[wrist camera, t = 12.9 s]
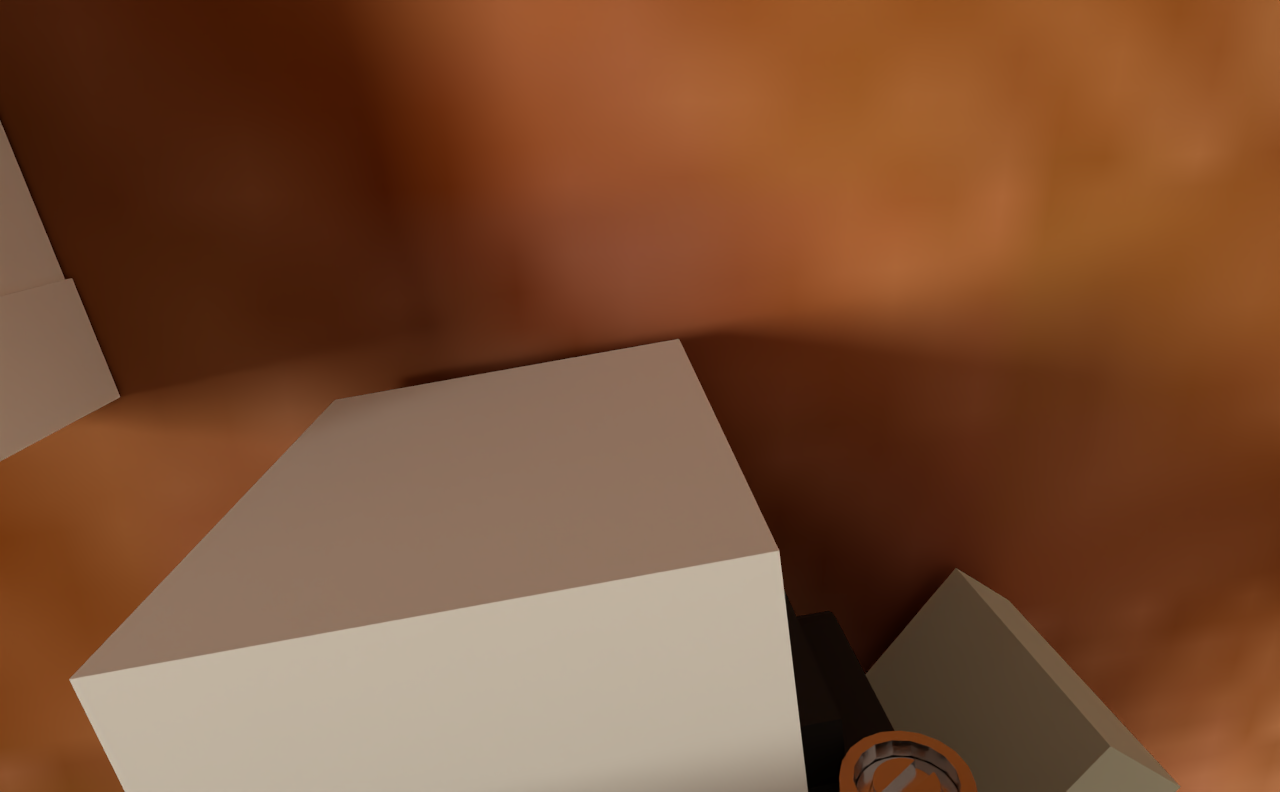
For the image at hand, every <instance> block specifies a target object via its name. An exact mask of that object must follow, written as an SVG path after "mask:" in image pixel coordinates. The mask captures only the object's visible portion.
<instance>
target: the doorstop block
mask: <svg viewBox="0 0 1280 792" xmlns="http://www.w3.org/2000/svg"><path fill="white" fill-rule="evenodd" d="M69 680H70V682H71V684H72V686H73V688H74V690H75V692H76V694H77V696H78V698H79V700H80V702H81V704H82V706H83V708H84V710H85V712H86V714H87V716H88V718H89V720H90V722H91V724H92V726H93V728H94V730H95V732H96V734H97V736H98V738H99V740H100V742H101V744H102V746H103V748H104V750H105V752H106V755H107V757H108V759H109V761H110V763H111V765H112V767H113V769H114V771H115V773H116V775H117V777H118V779H119V781H120V783H121V785H122V787H123V789H124V791H125V792H808V788H807V779H806V771H805V762H804V754H803V746H802V737H801V729H800V720H799V712H798V704H797V695H796V687H795V678H794V670H793V662H792V653H791V645H790V636H789V628H788V619H787V611H786V603H785V594H784V586H783V577H782V569H781V561H780V552H779V549H778V547H777V545H776V543H775V540H774V538H773V536H772V534H771V532H770V530H769V528H768V526H767V524H766V521H765V519H764V517H763V515H762V513H761V511H760V509H759V507H758V505H757V502H756V500H755V498H754V496H753V494H752V492H751V490H750V488H749V486H748V483H747V481H746V479H745V477H744V475H743V473H742V471H741V469H740V467H739V464H738V462H737V460H736V458H735V456H734V454H733V452H732V450H731V448H730V445H729V443H728V441H727V439H726V437H725V435H724V433H723V431H722V429H721V426H720V424H719V422H718V420H717V418H716V416H715V414H714V412H713V409H712V407H711V405H710V403H709V401H708V399H707V397H706V395H705V393H704V390H703V388H702V386H701V384H700V382H699V380H698V378H697V376H696V374H695V371H694V369H693V367H692V365H691V363H690V361H689V359H688V357H687V355H686V352H685V350H684V348H683V346H682V344H681V342H680V340H679V339H675V340H670V341H664V342H658V343H653V344H647V345H641V346H636V347H630V348H624V349H619V350H613V351H608V352H602V353H596V354H591V355H585V356H579V357H574V358H568V359H562V360H557V361H551V362H546V363H540V364H534V365H529V366H523V367H517V368H512V369H506V370H500V371H495V372H489V373H484V374H478V375H472V376H467V377H461V378H455V379H450V380H444V381H438V382H433V383H427V384H422V385H416V386H410V387H405V388H399V389H393V390H388V391H382V392H376V393H371V394H365V395H360V396H354V397H348V398H343V399H337V400H334V401H333V402H332V403H331V404H330V406H329V407H328V408H327V409H326V410H325V411H324V412H323V413H322V414H321V415H320V416H319V417H318V418H317V419H316V420H315V421H314V422H313V423H312V424H311V426H310V427H309V428H308V429H307V430H306V431H305V432H304V433H303V434H302V435H301V436H300V437H299V438H298V439H297V440H296V441H295V442H294V443H293V444H292V446H291V447H290V448H289V449H288V450H287V451H286V452H285V453H284V454H283V455H282V456H281V457H280V458H279V459H278V460H277V461H276V462H275V463H274V464H273V466H272V467H271V468H270V469H269V470H268V471H267V472H266V473H265V474H264V475H263V476H262V477H261V478H260V479H259V480H258V481H257V482H256V483H255V484H254V486H253V487H252V488H251V489H250V490H249V491H248V492H247V493H246V494H245V495H244V496H243V497H242V498H241V499H240V500H239V501H238V502H237V503H236V504H235V505H234V507H233V508H232V509H231V510H230V511H229V512H228V513H227V514H226V515H225V516H224V517H223V518H222V519H221V520H220V521H219V522H218V523H217V524H216V525H215V527H214V528H213V529H212V530H211V531H210V532H209V533H208V534H207V535H206V536H205V537H204V538H203V539H202V540H201V541H200V542H199V543H198V544H197V545H196V547H195V548H194V549H193V550H192V551H191V552H190V553H189V554H188V555H187V556H186V557H185V558H184V559H183V560H182V561H181V562H180V563H179V564H178V565H177V567H176V568H175V569H174V570H173V571H172V572H171V573H170V574H169V575H168V576H167V577H166V578H165V579H164V580H163V581H162V582H161V583H160V584H159V585H158V587H157V588H156V589H155V590H154V591H153V592H152V593H151V594H150V595H149V596H148V597H147V598H146V599H145V600H144V601H143V602H142V603H141V604H140V605H139V607H138V608H137V609H136V610H135V611H134V612H133V613H132V614H131V615H130V616H129V617H128V618H127V619H126V620H125V621H124V622H123V623H122V624H121V625H120V627H119V628H118V629H117V630H116V631H115V632H114V633H113V634H112V635H111V636H110V637H109V638H108V639H107V640H106V641H105V642H104V643H103V644H102V645H101V647H100V648H99V649H98V650H97V651H96V652H95V653H94V654H93V655H92V656H91V657H90V658H89V659H88V660H87V661H86V662H85V663H84V664H83V665H82V667H81V668H80V669H79V670H78V671H77V672H76V673H75V674H74V675H73V676H72V677H71V678H70V679H69Z"/></svg>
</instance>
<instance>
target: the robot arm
mask: <svg viewBox="0 0 1280 792" xmlns="http://www.w3.org/2000/svg"><path fill="white" fill-rule="evenodd" d="M784 594H785V603H786V611H787V619H788V628H789V636H790V645H791V653H792V662H793V670H794V678H795V687H796V695H797V704H798V712H799V720H800V729H801V737H802V746H803V754H804V762H805V771H806V779H807V788H808V792H978V791H977V786H976V782H975V780H974V777H973V775H972V773H971V771H970V768H969V766H968V765H967V764H966V763H965V761H964V760H963V759H962V758H961V757H960V756H959V755H958V753H957V752H956V751H954V750H953V749H951V748H950V747H948V746H947V745H945V744H944V743H942V742H941V741H939V740H936V739H934V738H931V737H928V736H926V735H923V734H920V733H914V732H907V731H900V730H899V731H895V730H894V728H893V727H892V725H891V723H890V721H889V719H888V717H887V715H886V713H885V711H884V709H883V707H882V705H881V704H880V702H879V700H878V698H877V696H876V694H875V692H874V690H873V688H872V686H871V684H870V683H869V681H868V679H867V677H866V675H865V673H864V671H863V669H862V667H861V665H860V663H859V662H858V660H857V658H856V656H855V654H854V652H853V650H852V648H851V646H850V644H849V642H848V640H847V639H846V637H845V635H844V633H843V631H842V629H841V627H840V625H839V623H838V621H837V619H836V618H835V616H834V615H833V613H832V612H830V611H825V612H820V613H814V614H809V615H803V616H798V617H796V615H795V613H794V611H793V608H792V606H791V604H790V601H789V599H788V597H787V595H786V592H785V590H784Z"/></svg>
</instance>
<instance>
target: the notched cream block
mask: <svg viewBox="0 0 1280 792" xmlns="http://www.w3.org/2000/svg"><path fill="white" fill-rule="evenodd" d="M118 398H120V395H119V393H118V390H117V388H116V385H115V383H114V380H113V378H112V375H111V373H110V370H109V368H108V365H107V363H106V360H105V358H104V356H103V353H102V351H101V348H100V346H99V343H98V341H97V338H96V336H95V333H94V331H93V328H92V326H91V323H90V321H89V319H88V316H87V314H86V311H85V309H84V306H83V304H82V301H81V299H80V296H79V294H78V291H77V289H76V287H75V284H74V282H73V279H72V278H70V279H65V278H64V275H63V273H62V271H61V268H60V266H59V263H58V261H57V258H56V256H55V253H54V251H53V249H52V246H51V244H50V241H49V239H48V236H47V234H46V231H45V229H44V227H43V224H42V222H41V219H40V217H39V214H38V212H37V209H36V207H35V205H34V202H33V200H32V197H31V195H30V192H29V190H28V187H27V185H26V183H25V180H24V178H23V175H22V173H21V170H20V168H19V165H18V163H17V161H16V158H15V156H14V153H13V151H12V148H11V146H10V143H9V141H8V139H7V136H6V134H5V131H4V129H3V126H2V124H1V121H0V461H2V460H4V459H5V458H7V457H9V456H11V455H13V454H15V453H17V452H19V451H20V450H22V449H24V448H26V447H28V446H30V445H32V444H33V443H35V442H37V441H39V440H41V439H43V438H45V437H47V436H48V435H50V434H52V433H54V432H56V431H58V430H60V429H62V428H63V427H65V426H67V425H69V424H71V423H73V422H75V421H77V420H78V419H80V418H82V417H84V416H86V415H88V414H90V413H92V412H93V411H95V410H97V409H99V408H101V407H103V406H105V405H107V404H108V403H110V402H112V401H114V400H116V399H118Z"/></svg>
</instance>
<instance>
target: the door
mask: <svg viewBox="0 0 1280 792" xmlns="http://www.w3.org/2000/svg"><path fill="white" fill-rule="evenodd" d="M865 675H866V677H867V679H868V681H869V683H870V684H871V686H872V688H873V690H874V692H875V694H876V696H877V698H878V700H879V702H880V704H881V705H882V707H883V709H884V711H885V713H886V715H887V717H888V719H889V721H890V723H891V725H892V727H893V728H894V730H895V731H899V730H900V731H907V732H914V733H920V734H923V735H926V736H928V737H931V738H934V739H936V740H939V741H941V742H942V743H944V744H945V745H947V746H948V747H950V748H951V749H953V750H954V751H956V752H957V753H958V755H959V756H960V757H961V758H962V759H963V760H964V761H965V763H966V764H967V765H968V766H969V768H970V771H971V773H972V775H973V777H974V780H975V782H976V786H977V791H978V792H1176V791H1177V790H1178V789H1179V788H1180V786H1179V785H1178V783H1177V782H1176V781H1175V780H1174V779H1173V778H1172V777H1171V776H1170V775H1169V774H1168V773H1167V772H1166V770H1165V769H1164V768H1163V767H1162V766H1161V765H1160V764H1159V763H1158V762H1157V761H1156V760H1155V759H1154V757H1153V756H1152V755H1151V754H1150V753H1149V752H1148V751H1147V750H1146V749H1145V748H1144V747H1143V745H1142V744H1141V743H1140V742H1139V741H1138V740H1137V739H1136V738H1135V737H1134V736H1133V735H1132V734H1131V732H1130V731H1129V730H1128V729H1127V728H1126V727H1125V726H1124V725H1123V724H1122V723H1121V722H1120V721H1119V719H1118V718H1117V717H1116V716H1115V715H1114V714H1113V713H1112V712H1111V711H1110V710H1109V709H1108V707H1107V706H1106V705H1105V704H1104V703H1103V702H1102V701H1101V700H1100V699H1099V698H1098V697H1097V696H1096V694H1095V693H1094V692H1093V691H1092V690H1091V689H1090V688H1089V687H1088V686H1087V685H1086V684H1085V683H1084V681H1083V680H1082V679H1081V678H1080V677H1079V676H1078V675H1077V674H1076V673H1075V672H1074V671H1073V669H1072V668H1071V667H1070V666H1069V665H1068V664H1067V663H1066V662H1065V661H1064V660H1063V659H1062V658H1061V656H1060V655H1059V654H1058V653H1057V652H1056V651H1055V650H1054V649H1053V648H1052V647H1051V646H1050V645H1049V643H1048V642H1047V641H1046V640H1045V639H1044V638H1043V637H1042V636H1041V635H1040V634H1039V633H1038V631H1037V630H1036V629H1035V628H1034V627H1033V626H1032V625H1031V624H1030V623H1029V622H1028V621H1027V620H1026V618H1025V617H1024V616H1023V615H1022V614H1021V613H1020V612H1019V611H1018V610H1017V609H1016V608H1015V607H1014V605H1013V604H1012V603H1011V602H1010V601H1009V600H1008V599H1006V598H1004V597H1003V596H1001V595H999V594H998V593H996V592H994V591H993V590H991V589H990V588H988V587H986V586H985V585H983V584H981V583H980V582H978V581H977V580H975V579H973V578H972V577H970V576H968V575H967V574H965V573H963V572H962V571H960V570H959V569H957V568H955V569H954V571H953V572H952V573H951V574H950V575H949V577H948V578H947V579H946V580H945V581H944V582H943V584H942V585H941V586H940V587H939V588H938V590H937V591H936V592H935V593H934V594H933V595H932V597H931V598H930V599H929V600H928V601H927V602H926V604H925V605H924V606H923V607H922V608H921V610H920V611H919V612H918V613H917V614H916V615H915V617H914V618H913V619H912V620H911V621H910V623H909V624H908V625H907V626H906V627H905V628H904V630H903V631H902V632H901V633H900V634H899V636H898V637H897V638H896V639H895V640H894V641H893V643H892V644H891V645H890V646H889V647H888V649H887V650H886V651H885V652H884V653H883V654H882V656H881V657H880V658H879V659H878V660H877V661H876V663H875V664H874V665H873V666H872V667H871V669H870V670H869V671H868V672H867V673H866V674H865Z"/></svg>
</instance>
